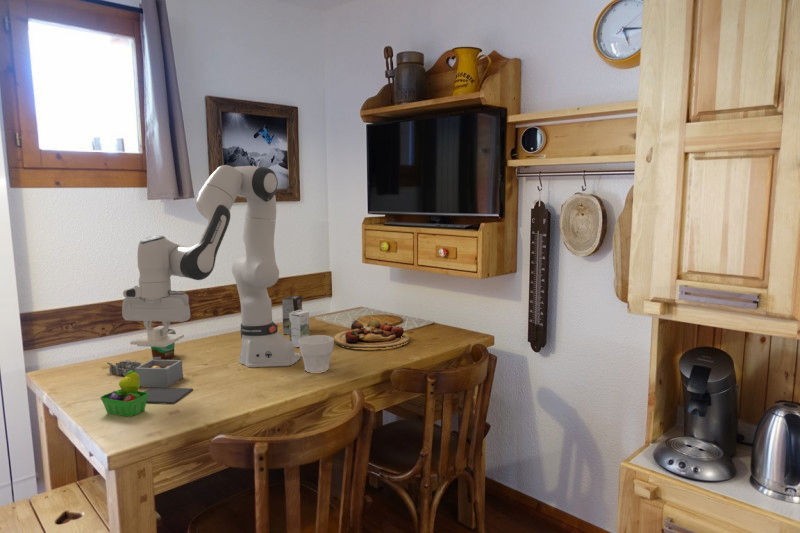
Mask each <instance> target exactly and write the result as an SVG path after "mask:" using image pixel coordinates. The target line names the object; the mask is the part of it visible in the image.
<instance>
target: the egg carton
mask: <svg viewBox="0 0 800 533" xmlns="http://www.w3.org/2000/svg"><path fill="white" fill-rule="evenodd" d="M106 364H107V365H110V366H109V374H116V375H118V376H120V375H121V376H122V375H123V377H125V375H126V374H127V373H128V372H129V371H135V368H136V367H138V366H140V365H142V364H143V362H140V361H137V360H136V361H132V360H129V359H126V360H122V361H119V362H116V363H115V364H113V363H111V362H107V363H106Z"/></svg>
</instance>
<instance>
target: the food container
mask: <svg viewBox="0 0 800 533" xmlns="http://www.w3.org/2000/svg"><path fill="white" fill-rule="evenodd" d="M167 334H177V333H176V330H175V329H174V328H168V329H167ZM175 343H176V342H174V343H172V344H170V345H168V346H166V347H150V348H151V349H150V350H151V357H152V360H172V359H173V358H174V357H175V346H176V345H175Z"/></svg>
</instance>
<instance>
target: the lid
mask: <svg viewBox="0 0 800 533" xmlns="http://www.w3.org/2000/svg"><path fill="white" fill-rule="evenodd" d="M163 327H164V325H158V326H156V327H152V328H153V329H151V330H147V331H146V333H147V334H146V335H143V336H141V337H139V338H136V339H133V340H132V341H130V345H136V346H137V347H150V348H151V347H166V346H168V345H170V344H172V343H174V342H175V343H176V342H178V341H179V340H181V339H183V338H185V334H183V333H182V334H181V333H180V334H179V333H176V334H167V335H166V336H160V330H162V329H163Z"/></svg>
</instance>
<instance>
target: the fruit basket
mask: <svg viewBox="0 0 800 533" xmlns="http://www.w3.org/2000/svg"><path fill="white" fill-rule="evenodd" d="M118 385H119V388H120V389H117V390H113V391H112V392H109V393H106V394H104V395H101V396H100V397H99V398H100V400H101V402H102V404H103V406H104V409H105V411H106V413H107V414H109V413H113V414H112V415H115V414H117V415H116V416H121V415H123V416H124V417H128V416H129V417H131V416H132V417H134V416H136V415H138V414H141V413H142V412H144V411H145V410H146V406H147V403H146V401H147V397H148V394H149V393H147V392H144V391H141V390H140V391H139V389H140V387H141V386H140V382H139V375H138V374H137V371H129V372H128V373H127V374H126V375H125V376H123V378H121V379H120V380H119V382H118ZM129 417H128V418H129ZM132 417H131V418H132Z"/></svg>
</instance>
